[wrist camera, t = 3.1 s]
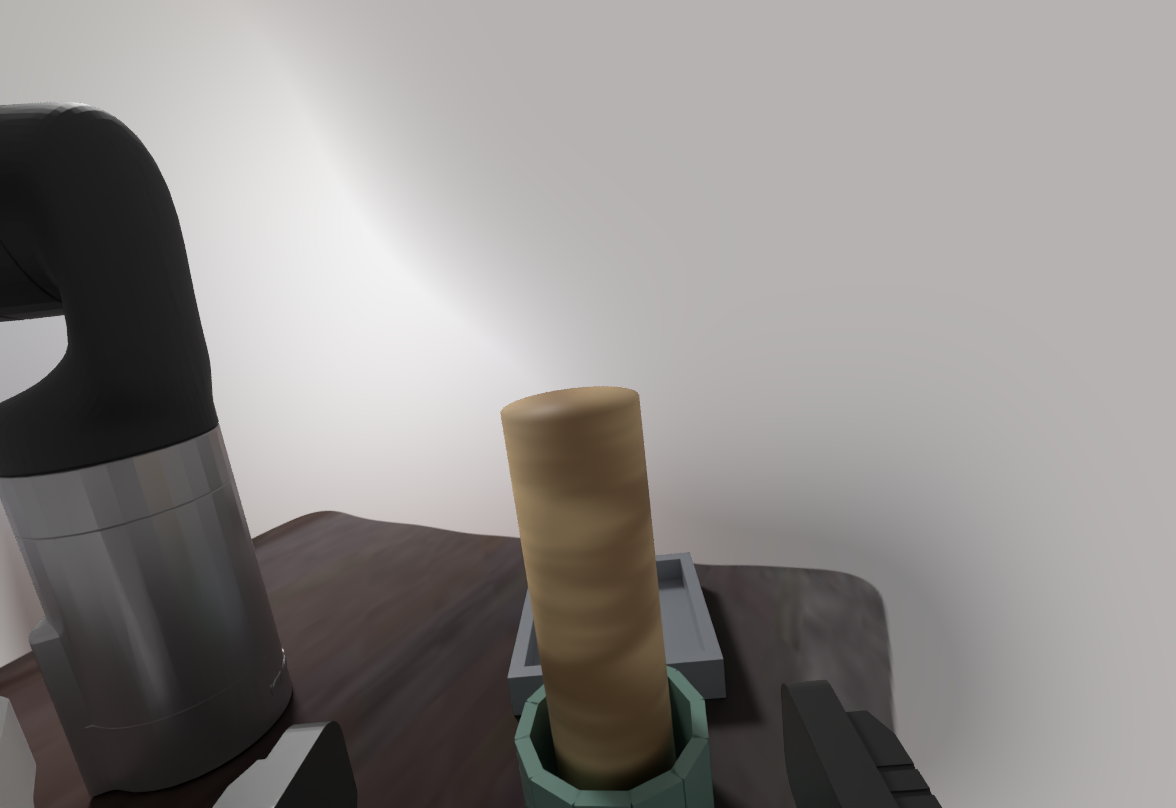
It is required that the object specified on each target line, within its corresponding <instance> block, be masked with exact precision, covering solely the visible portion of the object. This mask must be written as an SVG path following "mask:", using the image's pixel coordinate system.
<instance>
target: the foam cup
mask: <svg viewBox="0 0 1176 808" xmlns="http://www.w3.org/2000/svg"><path fill="white" fill-rule="evenodd" d="M35 772H36V763H35V760H34V758H33V756H32V753H31V751H30V748H29V746H28V744H27V741H26V739H25V736H24V734H23V732H22V729H21V727H20V724H19V722H18V720H17V717H16V715H15V712H14V710H13V707H12V705H11V703H10V700H9V699H8V698H5V697H2V696H0V808H35V807H34V802H33V792H34V782H35Z"/></svg>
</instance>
